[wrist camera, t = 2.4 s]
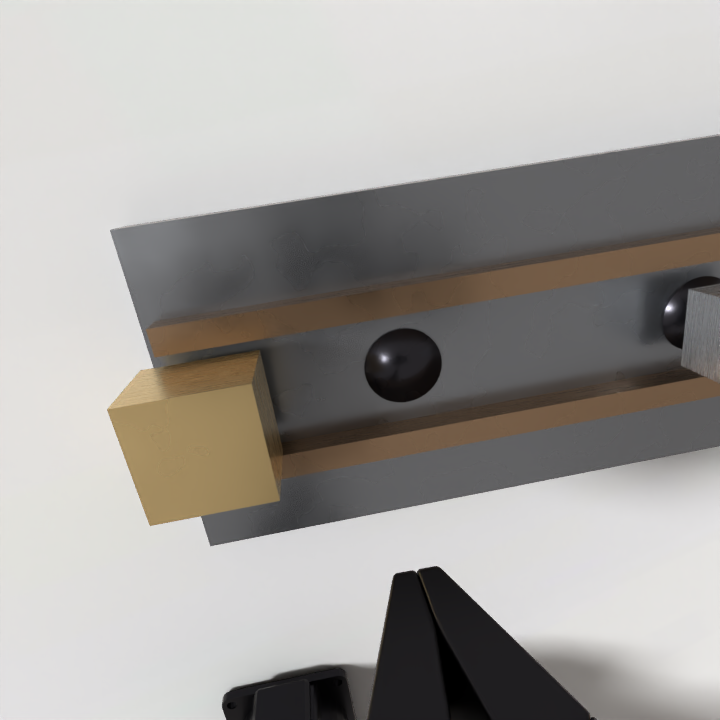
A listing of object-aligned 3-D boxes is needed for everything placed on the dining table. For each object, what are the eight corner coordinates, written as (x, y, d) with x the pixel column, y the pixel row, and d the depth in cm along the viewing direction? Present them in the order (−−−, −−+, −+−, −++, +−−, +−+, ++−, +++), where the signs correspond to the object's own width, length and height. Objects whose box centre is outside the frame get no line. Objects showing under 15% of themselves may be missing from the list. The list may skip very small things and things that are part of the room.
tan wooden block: (283, 440, 19) (280, 500, 15) (178, 459, 18) (149, 525, 15) (261, 342, 17) (251, 383, 14) (147, 362, 17) (107, 409, 13)
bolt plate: (737, 421, 23) (786, 448, 21) (216, 522, 22) (206, 563, 19) (783, 124, 19) (852, 115, 16) (125, 226, 17) (98, 232, 15)
